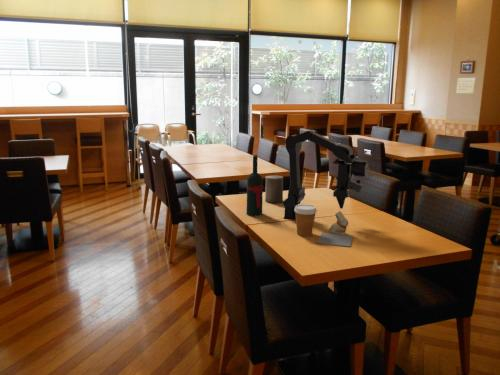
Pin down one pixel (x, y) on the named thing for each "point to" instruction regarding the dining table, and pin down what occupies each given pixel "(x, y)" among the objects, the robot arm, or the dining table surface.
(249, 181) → the wine bottle
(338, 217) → the chocolate bunny
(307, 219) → the disposable coffee cup
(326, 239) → the mat
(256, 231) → the dining table surface
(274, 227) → the dining table surface
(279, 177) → the pillar candle
